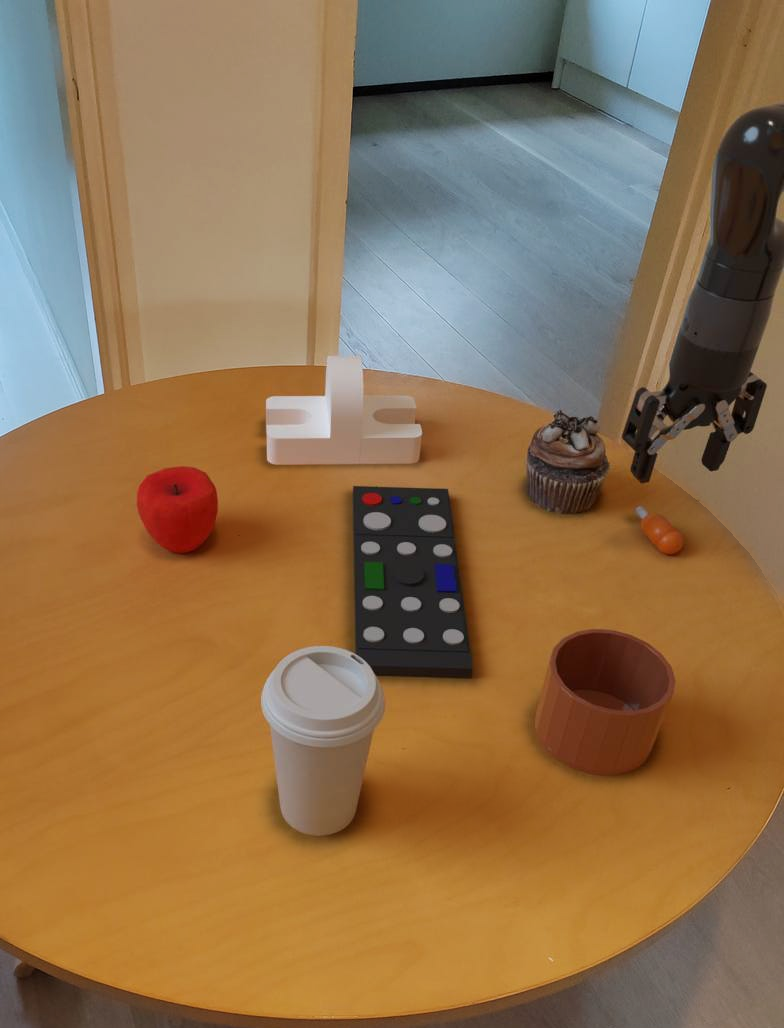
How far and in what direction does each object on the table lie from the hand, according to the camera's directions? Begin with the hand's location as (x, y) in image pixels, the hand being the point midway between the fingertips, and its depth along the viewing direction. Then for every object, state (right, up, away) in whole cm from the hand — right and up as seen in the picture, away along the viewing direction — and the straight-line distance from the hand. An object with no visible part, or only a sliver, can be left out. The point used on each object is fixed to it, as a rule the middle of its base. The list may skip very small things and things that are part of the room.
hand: (675, 473), depth 109 cm
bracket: (-35, +7, +21) cm, 41 cm away
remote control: (-29, -11, +1) cm, 31 cm away
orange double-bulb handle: (0, -6, +7) cm, 9 cm away
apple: (-53, -7, +5) cm, 54 cm away
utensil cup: (-13, -26, -15) cm, 33 cm away
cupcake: (-9, -1, +13) cm, 16 cm away
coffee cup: (-38, -32, -22) cm, 54 cm away
